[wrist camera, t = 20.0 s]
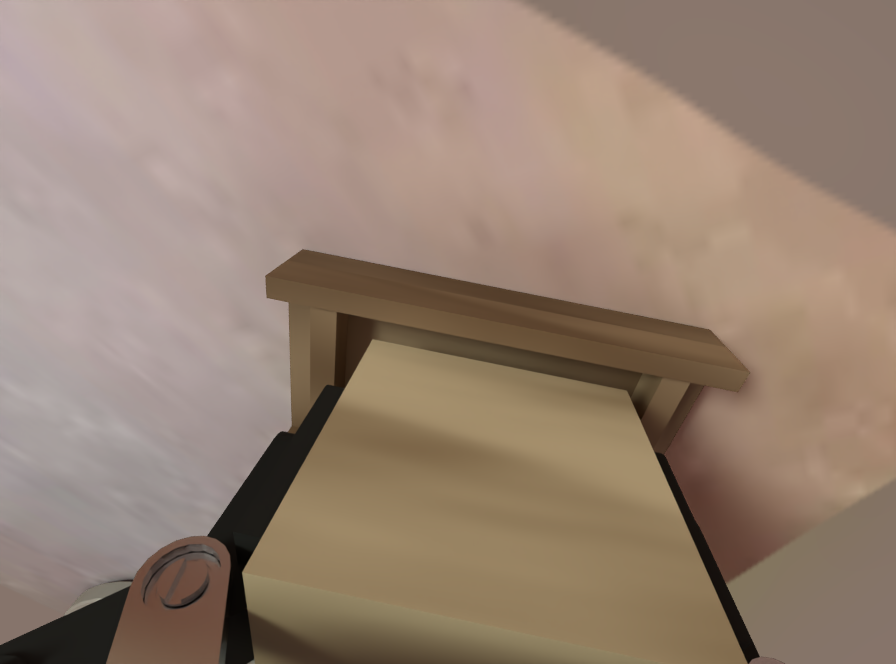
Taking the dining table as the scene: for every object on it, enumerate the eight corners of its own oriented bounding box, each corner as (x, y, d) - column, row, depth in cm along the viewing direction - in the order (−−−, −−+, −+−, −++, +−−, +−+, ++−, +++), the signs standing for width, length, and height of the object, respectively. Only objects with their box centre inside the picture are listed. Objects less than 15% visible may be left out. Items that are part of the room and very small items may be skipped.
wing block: (576, 497, 12) (632, 787, 7) (363, 452, 12) (260, 705, 7) (627, 390, 10) (756, 683, 5) (372, 339, 10) (242, 572, 5)
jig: (556, 610, 19) (566, 706, 16) (305, 558, 19) (268, 641, 16) (709, 329, 12) (783, 406, 9) (303, 249, 12) (236, 296, 9)
